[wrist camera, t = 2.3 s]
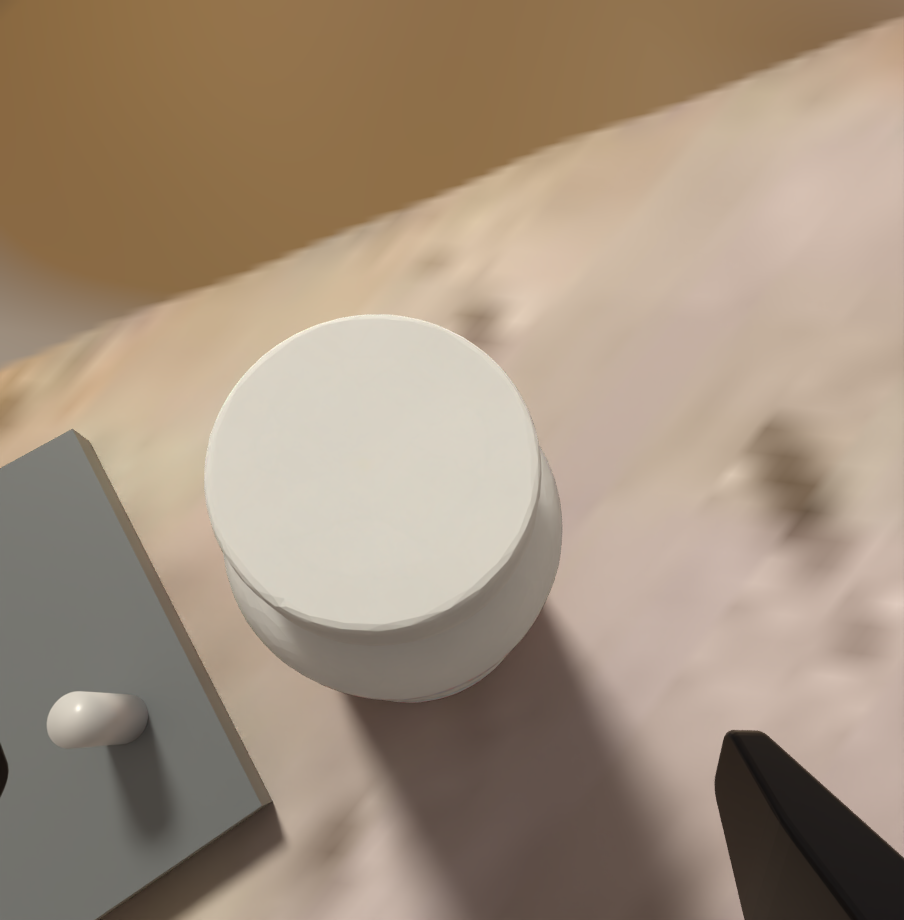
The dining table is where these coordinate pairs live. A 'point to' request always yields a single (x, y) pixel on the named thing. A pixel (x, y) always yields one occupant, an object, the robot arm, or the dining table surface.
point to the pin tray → (99, 703)
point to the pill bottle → (383, 507)
